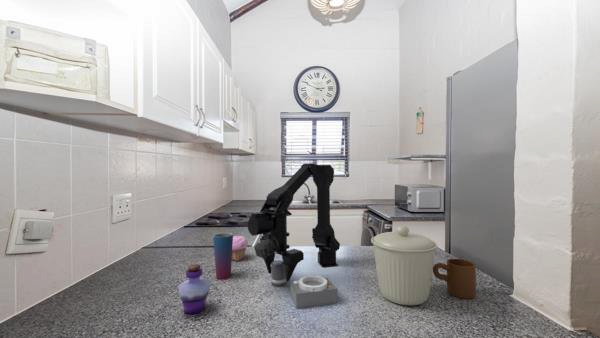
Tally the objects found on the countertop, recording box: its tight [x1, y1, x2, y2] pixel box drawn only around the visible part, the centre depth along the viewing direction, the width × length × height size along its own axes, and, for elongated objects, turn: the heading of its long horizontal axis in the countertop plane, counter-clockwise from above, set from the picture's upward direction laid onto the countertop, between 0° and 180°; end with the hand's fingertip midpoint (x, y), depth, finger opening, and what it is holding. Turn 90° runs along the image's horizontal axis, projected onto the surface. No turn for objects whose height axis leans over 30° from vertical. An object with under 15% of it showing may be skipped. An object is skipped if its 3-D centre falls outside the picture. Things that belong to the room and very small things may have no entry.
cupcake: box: [232, 235, 248, 262], centre depth 114 cm, size 9×9×10 cm
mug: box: [432, 258, 477, 300], centre depth 81 cm, size 12×8×9 cm, turn 85°
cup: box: [212, 232, 234, 281], centre depth 95 cm, size 7×7×15 cm
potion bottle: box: [177, 263, 211, 316], centre depth 73 cm, size 9×9×12 cm
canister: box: [370, 225, 438, 307], centre depth 79 cm, size 18×18×21 cm
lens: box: [270, 259, 287, 288], centre depth 89 cm, size 5×5×7 cm
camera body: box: [289, 275, 338, 310], centre depth 78 cm, size 12×8×5 cm
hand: (278, 277), depth 89 cm, fingers open, 9 cm apart
